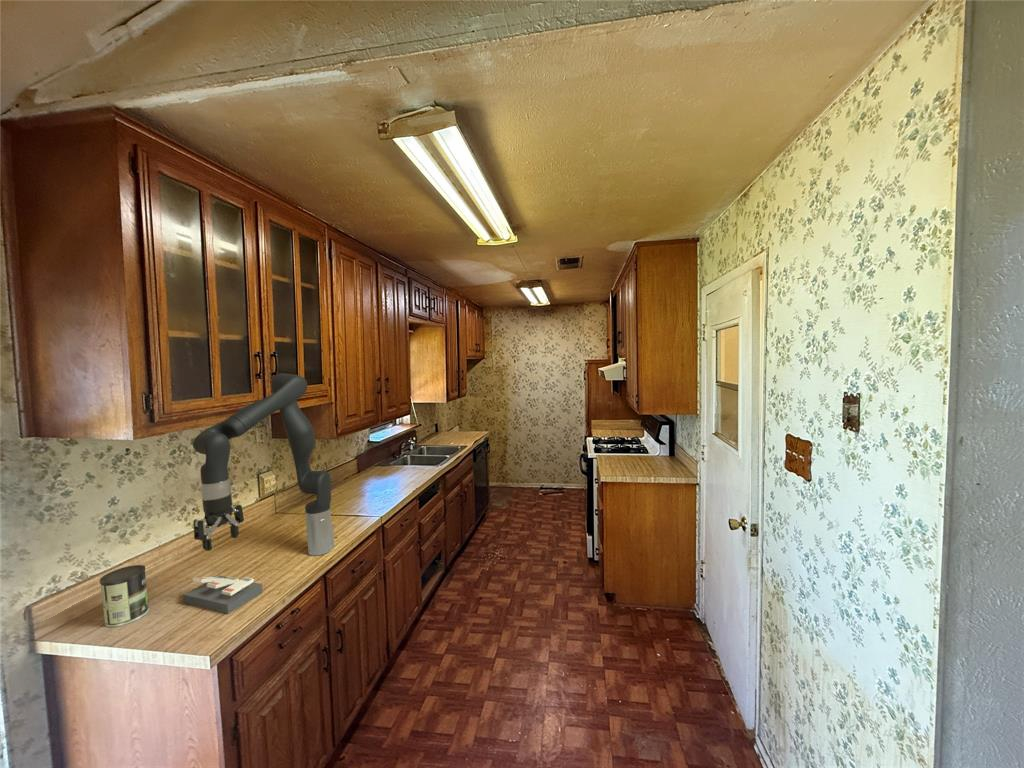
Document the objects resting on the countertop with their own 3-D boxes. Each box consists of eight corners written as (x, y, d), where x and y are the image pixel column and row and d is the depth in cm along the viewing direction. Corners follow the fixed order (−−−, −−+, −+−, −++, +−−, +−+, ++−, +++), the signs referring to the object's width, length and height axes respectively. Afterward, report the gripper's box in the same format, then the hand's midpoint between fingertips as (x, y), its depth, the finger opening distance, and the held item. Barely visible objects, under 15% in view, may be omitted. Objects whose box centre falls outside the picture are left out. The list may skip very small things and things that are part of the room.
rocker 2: (229, 580, 141) (230, 576, 141) (239, 582, 139) (239, 578, 139) (205, 587, 133) (206, 582, 133) (215, 589, 132) (216, 585, 132)
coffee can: (146, 602, 135) (142, 561, 134) (151, 615, 128) (147, 571, 127) (102, 618, 127) (98, 574, 126) (105, 632, 120) (100, 586, 119)
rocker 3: (244, 580, 138) (244, 576, 138) (254, 582, 137) (254, 578, 137) (221, 594, 131) (220, 590, 131) (231, 596, 129) (231, 592, 129)
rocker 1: (214, 580, 143) (215, 576, 143) (223, 582, 141) (225, 578, 142) (191, 581, 136) (193, 577, 136) (201, 583, 134) (202, 579, 135)
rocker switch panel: (220, 583, 145) (219, 575, 145) (262, 592, 139) (262, 584, 139) (183, 603, 134) (183, 594, 134) (228, 614, 128) (227, 604, 127)
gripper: (229, 486, 137) (234, 532, 139) (184, 501, 124) (190, 553, 126) (246, 487, 135) (250, 535, 137) (202, 504, 122) (207, 556, 123)
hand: (221, 543), depth 131 cm, fingers open, 8 cm apart
